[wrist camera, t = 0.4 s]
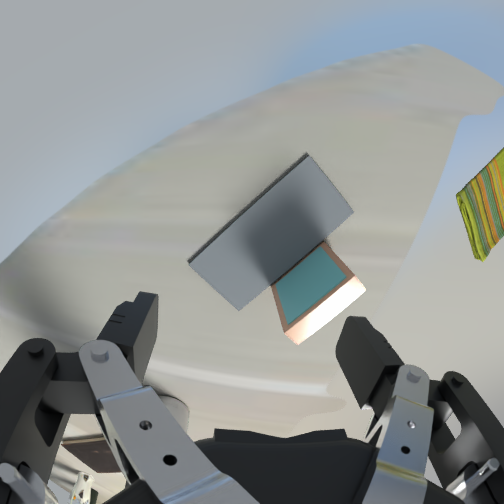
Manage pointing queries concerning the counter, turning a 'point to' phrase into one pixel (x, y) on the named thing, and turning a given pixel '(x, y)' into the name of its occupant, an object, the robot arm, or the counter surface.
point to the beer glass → (81, 489)
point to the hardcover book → (94, 454)
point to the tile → (314, 293)
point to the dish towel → (484, 207)
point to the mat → (272, 234)
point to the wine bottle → (93, 496)
